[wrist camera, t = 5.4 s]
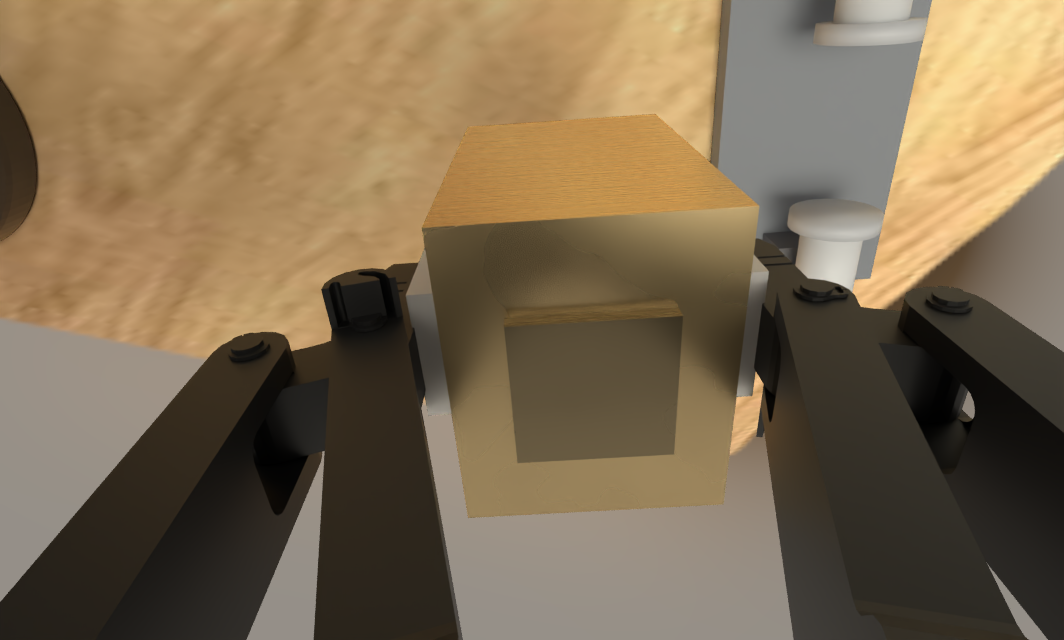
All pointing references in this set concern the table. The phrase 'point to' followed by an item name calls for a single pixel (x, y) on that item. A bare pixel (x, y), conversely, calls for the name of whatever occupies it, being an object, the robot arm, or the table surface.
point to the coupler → (589, 315)
